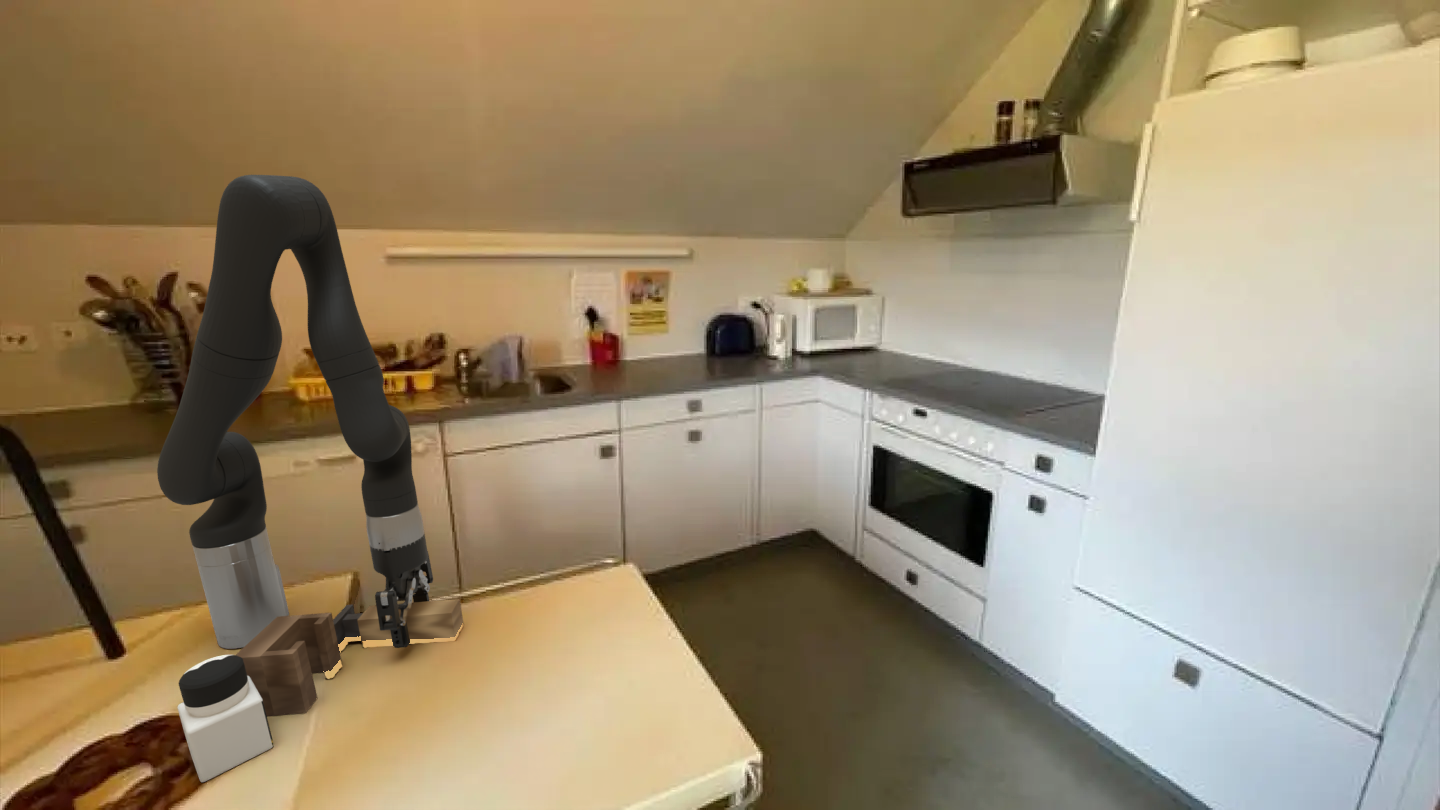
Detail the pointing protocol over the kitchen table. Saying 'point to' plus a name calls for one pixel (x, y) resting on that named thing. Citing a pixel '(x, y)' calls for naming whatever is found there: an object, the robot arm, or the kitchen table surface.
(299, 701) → the wooden u-shaped block
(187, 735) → the medicine bottle
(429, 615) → the oak rail
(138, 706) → the kitchen table surface
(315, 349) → the robot arm
